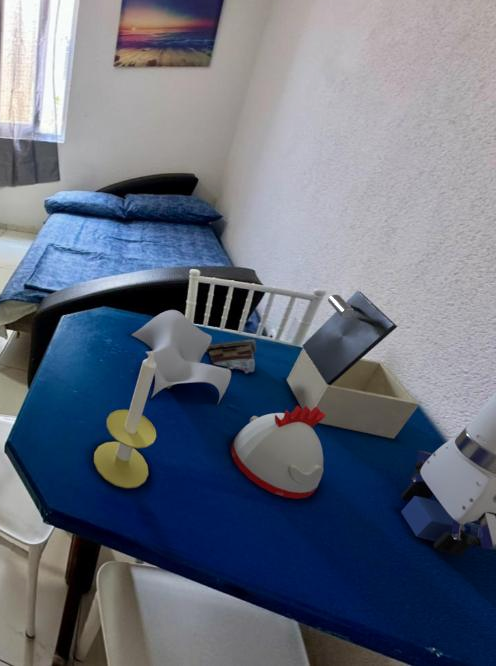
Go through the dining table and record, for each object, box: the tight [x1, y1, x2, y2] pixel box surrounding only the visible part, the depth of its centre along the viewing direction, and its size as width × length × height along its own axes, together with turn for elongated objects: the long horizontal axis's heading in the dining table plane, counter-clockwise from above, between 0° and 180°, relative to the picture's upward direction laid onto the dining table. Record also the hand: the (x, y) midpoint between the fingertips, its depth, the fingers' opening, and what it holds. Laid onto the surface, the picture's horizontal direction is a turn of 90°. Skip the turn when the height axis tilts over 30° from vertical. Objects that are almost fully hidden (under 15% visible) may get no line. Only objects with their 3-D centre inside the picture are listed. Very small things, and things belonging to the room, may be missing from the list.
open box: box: [286, 347, 420, 440], centre depth 89 cm, size 16×14×10 cm
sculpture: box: [131, 309, 232, 406], centre depth 100 cm, size 25×19×10 cm
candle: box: [93, 350, 157, 489], centre depth 70 cm, size 10×10×27 cm
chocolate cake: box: [205, 338, 258, 374], centre depth 103 cm, size 10×7×12 cm
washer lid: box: [301, 290, 398, 385], centre depth 85 cm, size 16×14×7 cm
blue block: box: [400, 496, 467, 543], centre depth 67 cm, size 4×4×4 cm
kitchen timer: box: [230, 405, 326, 500], centre depth 74 cm, size 14×14×15 cm
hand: (428, 524), depth 67 cm, fingers open, 8 cm apart
